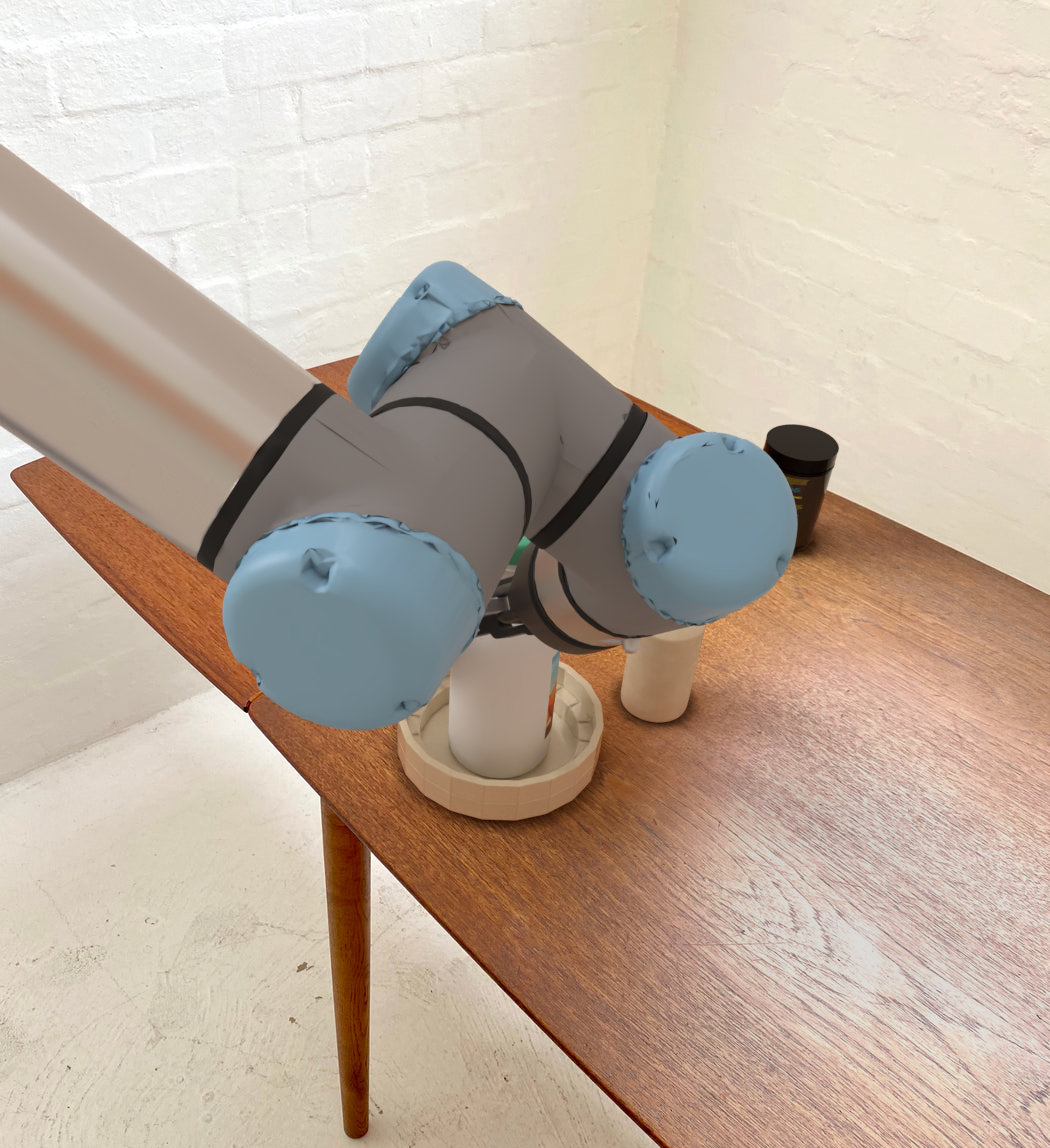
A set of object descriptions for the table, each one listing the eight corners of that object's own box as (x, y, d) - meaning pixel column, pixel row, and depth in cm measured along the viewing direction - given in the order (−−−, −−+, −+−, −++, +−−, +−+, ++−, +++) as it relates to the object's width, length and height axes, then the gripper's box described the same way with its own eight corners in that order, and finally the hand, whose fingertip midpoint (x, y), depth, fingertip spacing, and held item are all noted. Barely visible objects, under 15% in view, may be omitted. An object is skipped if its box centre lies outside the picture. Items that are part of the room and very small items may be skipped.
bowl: (428, 843, 78) (429, 804, 75) (377, 701, 88) (376, 662, 85) (627, 800, 82) (635, 762, 79) (556, 669, 92) (560, 632, 90)
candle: (670, 732, 88) (692, 634, 81) (608, 706, 89) (624, 608, 83) (697, 693, 91) (720, 596, 84) (637, 669, 93) (655, 572, 86)
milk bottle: (530, 793, 81) (554, 571, 68) (432, 764, 83) (437, 541, 69) (561, 726, 87) (589, 508, 73) (469, 700, 88) (480, 481, 75)
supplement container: (816, 558, 107) (845, 463, 100) (747, 553, 107) (771, 457, 100) (806, 520, 112) (832, 427, 105) (739, 514, 112) (761, 421, 105)
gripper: (396, 684, 56) (342, 707, 77) (802, 615, 63) (650, 653, 84) (369, 538, 56) (323, 600, 77) (778, 484, 63) (632, 555, 84)
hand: (493, 628), depth 80 cm, fingers open, 11 cm apart
